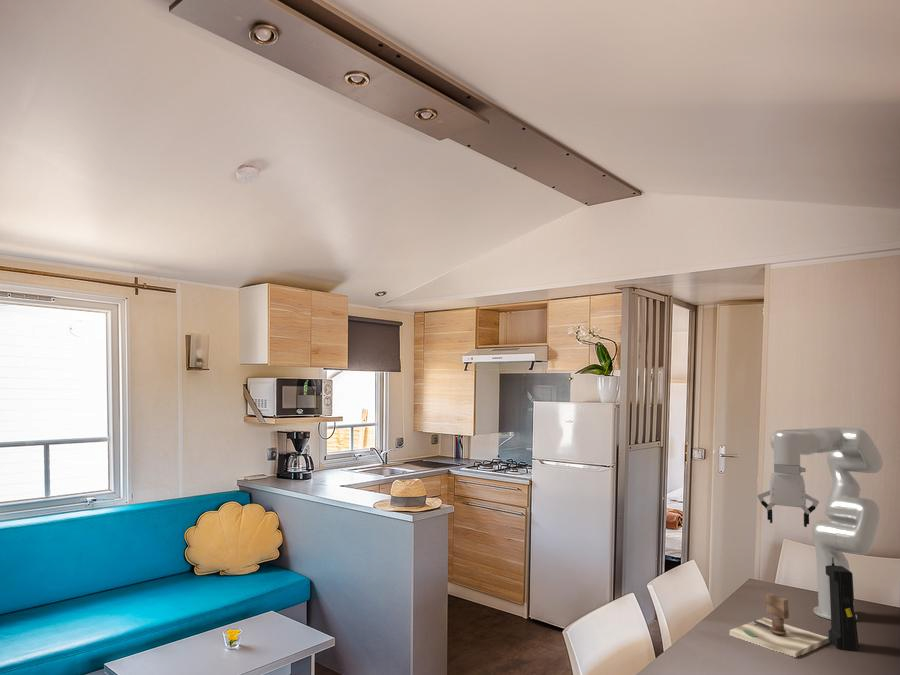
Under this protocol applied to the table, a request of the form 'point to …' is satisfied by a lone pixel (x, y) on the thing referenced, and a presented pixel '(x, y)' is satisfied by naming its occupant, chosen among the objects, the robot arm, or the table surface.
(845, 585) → the portable radio
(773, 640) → the dial board
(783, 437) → the robot arm
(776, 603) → the tuning peg
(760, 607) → the table surface
